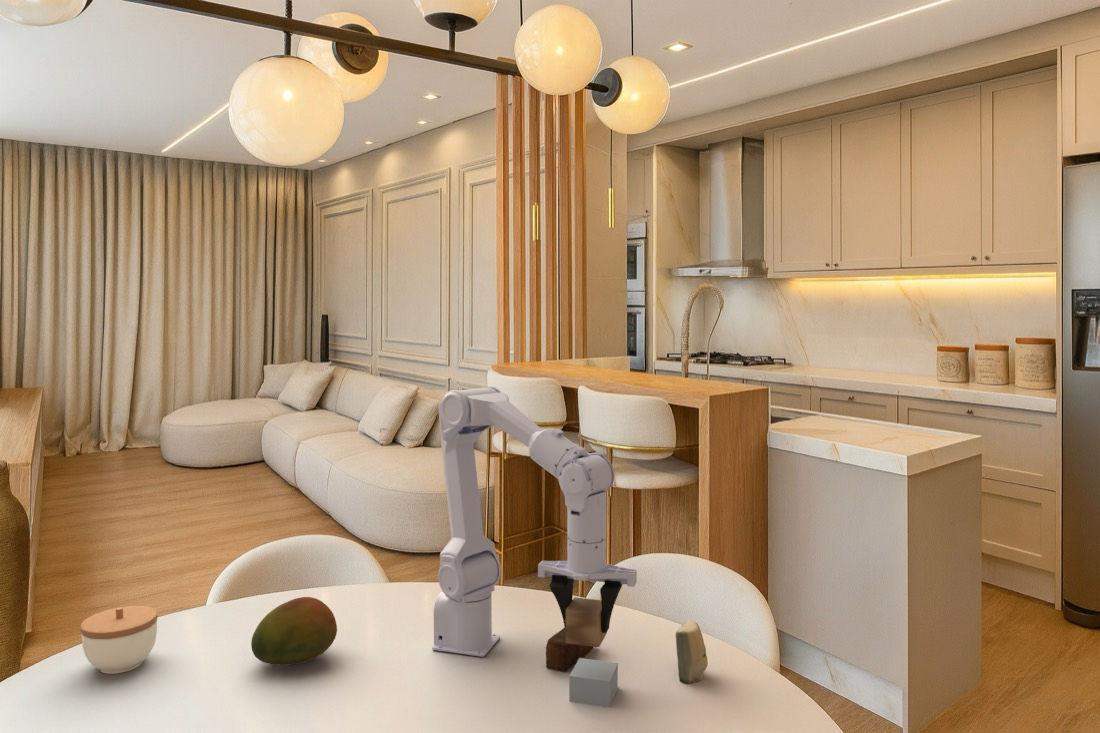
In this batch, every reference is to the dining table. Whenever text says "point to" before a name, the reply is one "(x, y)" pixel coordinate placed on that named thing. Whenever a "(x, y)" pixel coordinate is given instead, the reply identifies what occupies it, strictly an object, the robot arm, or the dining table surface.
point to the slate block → (593, 682)
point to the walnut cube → (584, 622)
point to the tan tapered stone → (690, 652)
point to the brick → (563, 652)
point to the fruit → (294, 632)
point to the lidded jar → (119, 638)
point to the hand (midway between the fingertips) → (586, 627)
